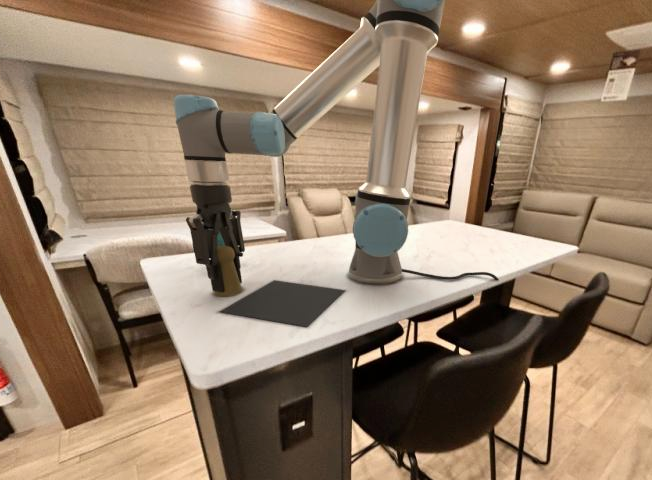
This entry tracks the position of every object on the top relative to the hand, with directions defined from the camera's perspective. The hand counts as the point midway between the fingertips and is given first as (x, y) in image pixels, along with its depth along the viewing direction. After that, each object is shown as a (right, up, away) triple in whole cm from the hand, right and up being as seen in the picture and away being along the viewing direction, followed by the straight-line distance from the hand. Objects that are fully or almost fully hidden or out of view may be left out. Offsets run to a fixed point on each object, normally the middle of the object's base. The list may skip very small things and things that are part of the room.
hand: (227, 286), depth 74 cm
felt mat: (+15, -3, -3) cm, 16 cm away
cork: (0, -1, +1) cm, 1 cm away
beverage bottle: (-10, +7, +18) cm, 22 cm away
